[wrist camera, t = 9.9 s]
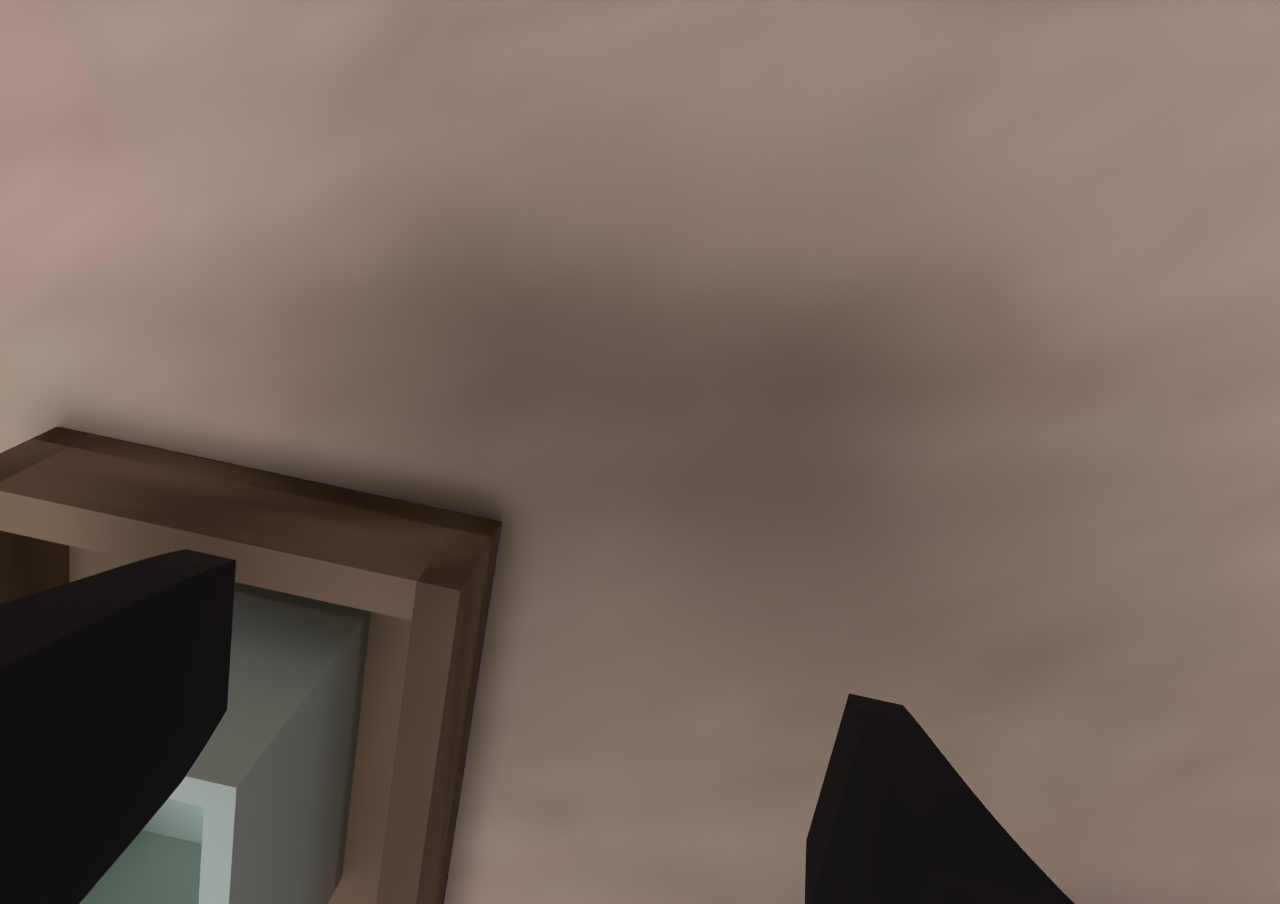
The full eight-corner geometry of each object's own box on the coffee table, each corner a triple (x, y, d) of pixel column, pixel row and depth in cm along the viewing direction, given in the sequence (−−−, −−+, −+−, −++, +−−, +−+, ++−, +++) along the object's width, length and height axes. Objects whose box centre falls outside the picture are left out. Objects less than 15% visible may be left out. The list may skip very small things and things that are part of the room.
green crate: (371, 608, 22) (236, 787, 16) (342, 876, 24) (214, 1115, 18) (140, 557, 22) (-74, 717, 16) (132, 828, 24) (-56, 1050, 19)
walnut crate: (501, 522, 22) (460, 590, 19) (435, 953, 26) (392, 1068, 23) (56, 427, 22) (-55, 479, 19) (57, 866, 26) (-34, 967, 23)
